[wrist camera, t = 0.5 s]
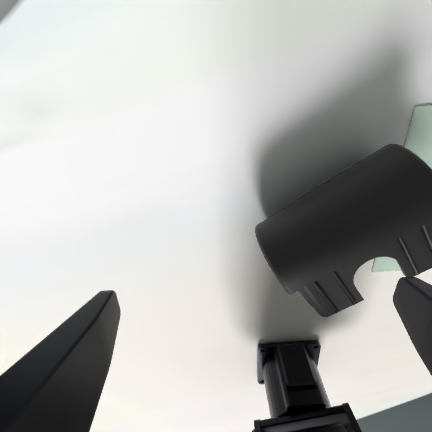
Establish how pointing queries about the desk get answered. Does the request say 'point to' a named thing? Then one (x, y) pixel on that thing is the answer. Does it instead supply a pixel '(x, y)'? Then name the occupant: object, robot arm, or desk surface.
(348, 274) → the end cap
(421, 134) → the mat
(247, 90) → the desk surface
